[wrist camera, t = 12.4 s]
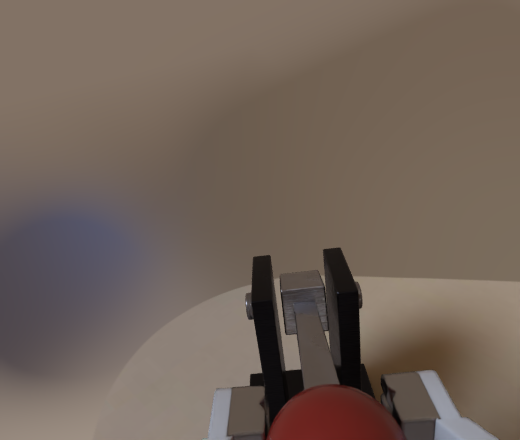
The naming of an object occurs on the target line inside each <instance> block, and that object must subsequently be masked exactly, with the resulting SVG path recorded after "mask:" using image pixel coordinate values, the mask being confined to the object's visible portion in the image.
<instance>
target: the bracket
mask: <svg viewBox="0 0 520 440" xmlns="http://www.w3.org/2000/svg"><path fill="white" fill-rule="evenodd" d="M323 256H324V269H325V284H326V299H327V313H328V323H329V342H330V353H331V356H332V360H333V363H334V366H335V370H336V373H337V377H338V380H339V383H340V385H346V386H350V387H353V388H356V389H358V390H361V391H363V392H365V393H367V394H368V395H370V396H372V397H373V398H374V399H375V396H374V393H373V390H372V387H371V384H370V381H369V378H368V375H367V372H366V369H365V366H364V364H361V355H360V322H359V309H361V308H362V293H361V289H360V286H359V283H358V282H355V281H354V279H353V277H352V274H351V272H350V270H349V267H348V265H347V262H346V260H345V258H344V255H343V253H342V250H341V248H331V249H324V250H323ZM252 271H253V272H252V291H251V293H246V312H247V317H248V319H249V320H252V319H254V324H255V330H256V336H257V342H258V348H259V354H260V360H261V366H262V373H258V374H251V375H250V386H262V385H265V386H266V391H267V404H268V405H269V410H270V418H271V425H272V423H273V421H274V419H275V417H276V416H277V414H278V413H279V411H280V410H281V408H282V407H283V406H284V405H285V404H286V403H287V402H288V401H289V400H290V399H291V398H292V397H294V396H295V395H297V394H298V393H300V392H301V391H303V390H304V385H303V377H302V370H290V371H286V370H285V362H284V355H283V347H282V340H281V332H280V325H279V317H278V309H277V302H276V294H275V287H274V279H273V272H272V265H271V256H270V255H266V256H257V257H253V270H252Z"/></svg>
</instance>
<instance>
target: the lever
mask: <svg viewBox="0 0 520 440" xmlns="http://www.w3.org/2000/svg"><path fill="white" fill-rule="evenodd" d="M280 292H281V300H282V308H283V317H284V325H285V333H286V335H291V334H297V340H298V347H299V355H300V362H301V370H302V377H303V385H304V390H303V391H301V392H300V393H298V394H297V395H295V396H294V397H292V398H291V399H290V400H289V401H288V402H287V403H286V404H285V405H284V406H283V407H282V408H281V410H280V411H279V413H278V414H277V416H276V417H275V419H274V421H273V423H272V425H271V427H270V430H269V432H268V436H267V439H266V440H407V438H406V436H405V434H404V432H403V430H402V429H401V427H400V425H399V424H398V422H397V421H396V419H395V418H394V417H393V416H392V414H391V413H390V412H389V411H388V410H387V409H386V408H385V407H384V406H383V405H382V404H381V403H379V402H378V401H377V400H376V399H374V398H373V397H372V396H370V395H368V394H367V393H365V392H363V391H361V390H358V389H356V388H353V387H350V386H346V385H340V383H339V380H338V377H337V373H336V370H335V366H334V363H333V360H332V356H331V353H330V350H329V346H328V343H327V339H326V336H325V333H324V331H329V323H328V313H327V303H326V293H325V286H324V283H323V281H322V279H321V276H320V274H319V271H318V270H314V271H304V272H295V273H285V274H280Z"/></svg>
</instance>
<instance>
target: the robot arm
mask: <svg viewBox="0 0 520 440" xmlns="http://www.w3.org/2000/svg"><path fill="white" fill-rule="evenodd" d="M381 386H382V389H383V394H382V395H381V404H382V405H383V406H384V407H385V408H386V409H387V410H388V411H389V412H390V413H391V414H392V416H393V417H394V418H395V419H396V421H397V422H398V424H399V425H400V427H401V429H402V430H403V432H404V434H405V436H406V438H407V440H499V439H498V438H497V437H495V436H494V435H492V434H491V433H489V432H488V431H487V430H485V429H484V428H482V427H481V426H479V425H478V424H476V423H475V422H474V421H472V420H471V419H469V418H468V417H461V415H460V413H459V411H458V409H457V408H456V406H455V404H454V402H453V401H452V399H451V397H450V395H449V394H448V392H447V390H446V388H445V386H444V385H443V383H442V381H441V379H440V378H439V376H438V374H437V372H436V371H434V370H425V371H416V372H415V371H413V372H403V373H393V374H383V375H382V376H381ZM270 427H271V418H270V410H269V405H268V404H267V391H266V386H265V385H262V386H245V387H233V388H218V389H216V391H215V393H214V399H213V406H212V413H211V420H210V426H209V433H208V438H203V439H202V440H266V439H267V436H268V432H269V430H270Z"/></svg>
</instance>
